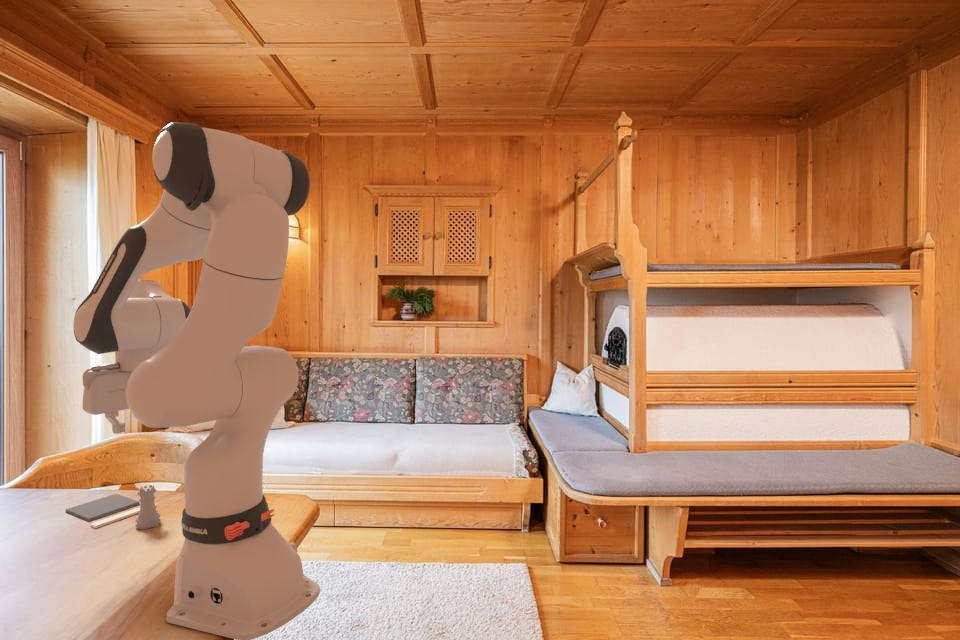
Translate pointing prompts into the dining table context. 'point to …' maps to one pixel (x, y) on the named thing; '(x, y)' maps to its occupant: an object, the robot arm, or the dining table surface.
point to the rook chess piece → (147, 509)
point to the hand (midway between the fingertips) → (144, 427)
